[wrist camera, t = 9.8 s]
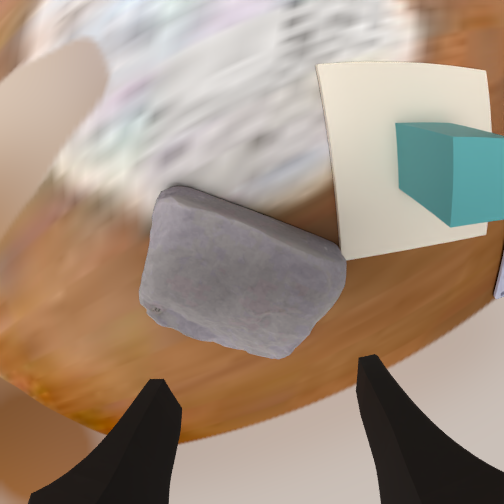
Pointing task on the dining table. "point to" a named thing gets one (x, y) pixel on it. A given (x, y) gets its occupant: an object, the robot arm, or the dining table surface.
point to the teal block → (452, 171)
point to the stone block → (236, 274)
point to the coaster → (391, 147)
